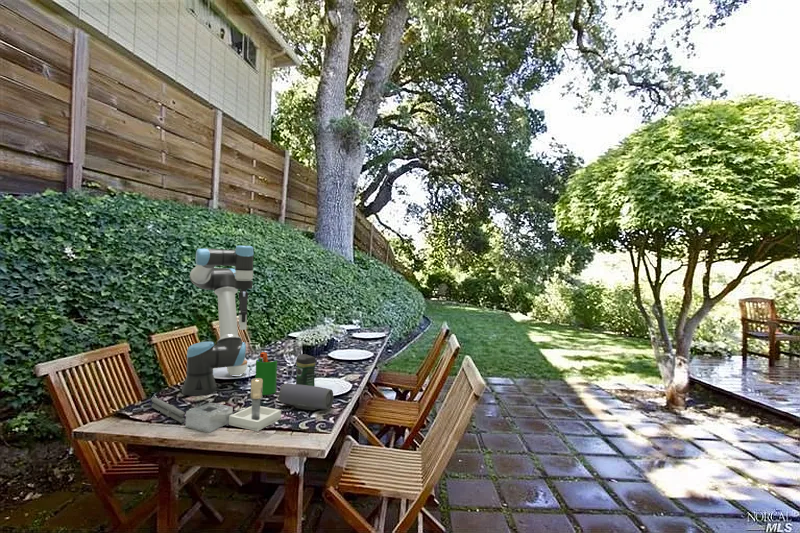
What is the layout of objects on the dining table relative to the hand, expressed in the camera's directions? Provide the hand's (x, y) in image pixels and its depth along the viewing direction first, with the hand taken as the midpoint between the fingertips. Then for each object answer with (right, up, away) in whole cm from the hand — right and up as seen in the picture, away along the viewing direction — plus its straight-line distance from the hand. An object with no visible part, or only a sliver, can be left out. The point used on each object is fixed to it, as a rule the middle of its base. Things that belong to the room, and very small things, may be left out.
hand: (242, 327), depth 184 cm
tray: (+13, -35, -19) cm, 42 cm away
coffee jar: (+24, -36, +20) cm, 47 cm away
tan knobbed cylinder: (+13, -34, -19) cm, 41 cm away
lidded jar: (-20, -34, +44) cm, 59 cm away
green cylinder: (+5, -35, +17) cm, 39 cm away
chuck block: (-4, -35, -23) cm, 42 cm away
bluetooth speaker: (+29, -36, -2) cm, 46 cm away
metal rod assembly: (-25, -35, -15) cm, 45 cm away
